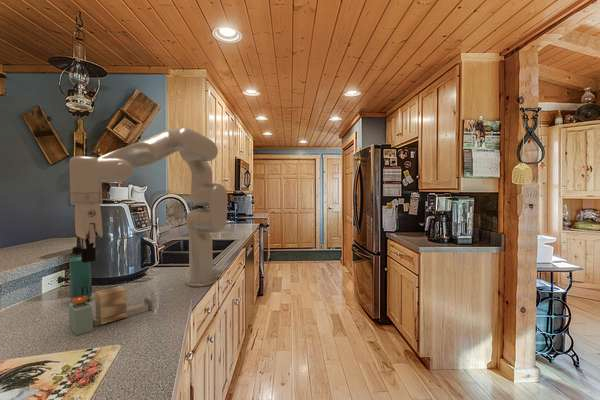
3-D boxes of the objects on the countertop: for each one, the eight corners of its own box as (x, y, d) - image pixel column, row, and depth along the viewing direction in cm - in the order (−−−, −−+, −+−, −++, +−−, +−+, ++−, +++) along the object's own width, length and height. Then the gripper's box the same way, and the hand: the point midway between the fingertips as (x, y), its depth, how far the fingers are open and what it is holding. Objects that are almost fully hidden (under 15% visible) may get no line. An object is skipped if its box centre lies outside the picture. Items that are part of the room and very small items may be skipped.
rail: (147, 306, 104) (146, 297, 104) (152, 310, 101) (152, 300, 101) (91, 322, 92) (90, 312, 91) (95, 327, 89) (94, 316, 88)
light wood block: (121, 312, 98) (120, 285, 98) (126, 316, 95) (126, 289, 94) (96, 319, 93) (95, 291, 92) (101, 324, 89) (100, 295, 89)
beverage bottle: (81, 305, 105) (78, 248, 104) (65, 304, 106) (62, 247, 105) (97, 298, 111) (95, 244, 110) (82, 297, 112) (80, 244, 112)
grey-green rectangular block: (85, 322, 92) (84, 299, 92) (93, 330, 87) (92, 306, 86) (69, 326, 89) (68, 303, 89) (76, 335, 84) (75, 311, 83)
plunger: (86, 314, 90) (85, 294, 90) (89, 318, 88) (88, 297, 88) (71, 318, 88) (70, 297, 87) (74, 322, 85) (73, 301, 85)
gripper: (109, 199, 86) (111, 263, 86) (94, 198, 96) (96, 255, 96) (77, 200, 80) (79, 268, 81) (65, 198, 90) (67, 259, 91)
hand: (88, 261), depth 89 cm, fingers closed
